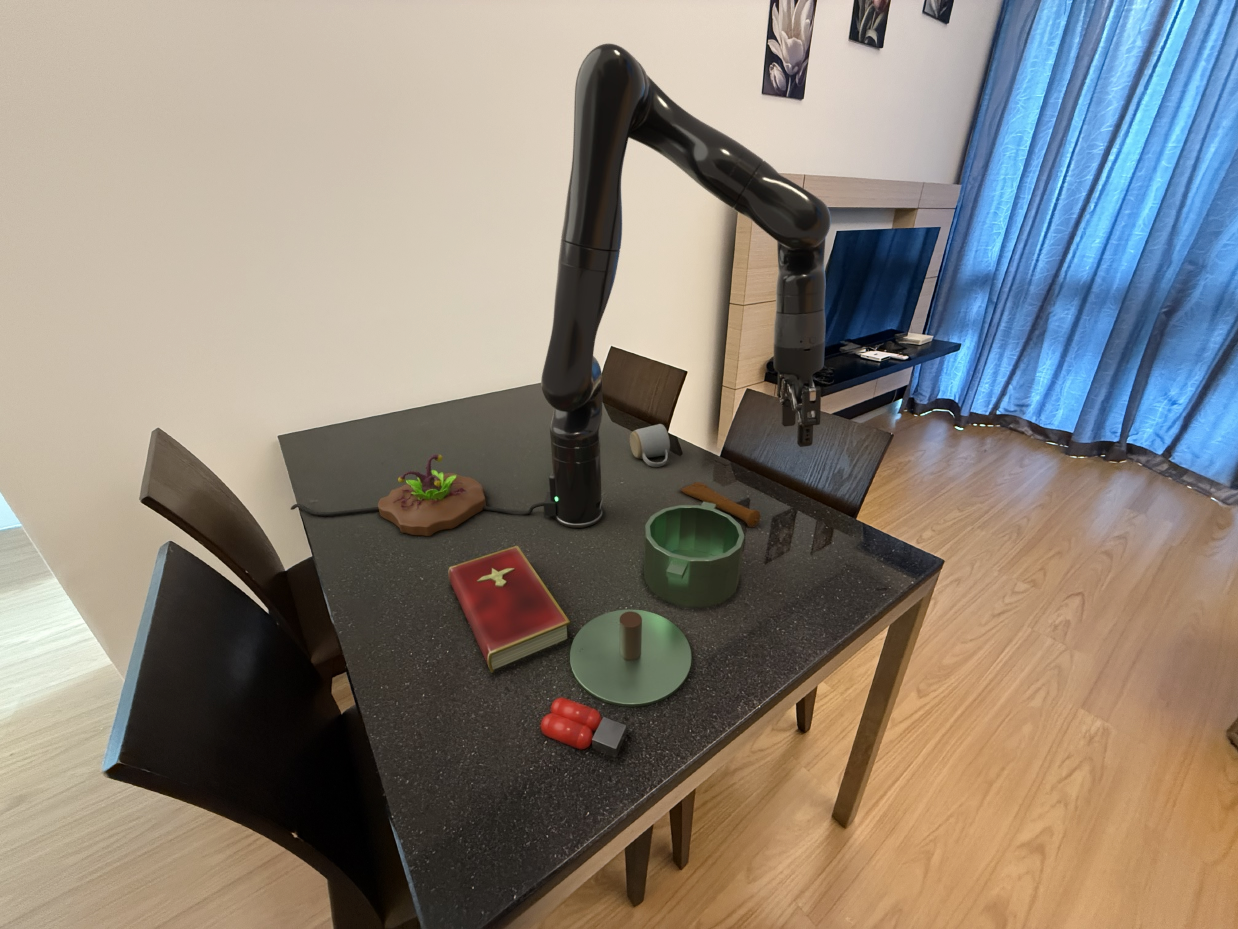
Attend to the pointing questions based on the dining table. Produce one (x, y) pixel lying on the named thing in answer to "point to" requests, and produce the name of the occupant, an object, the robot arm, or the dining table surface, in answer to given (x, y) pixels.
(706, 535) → the pot
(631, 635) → the lid
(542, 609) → the hardcover book
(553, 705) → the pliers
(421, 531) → the plant
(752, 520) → the primitive tool
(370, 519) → the dining table surface
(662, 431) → the ceramic mug
